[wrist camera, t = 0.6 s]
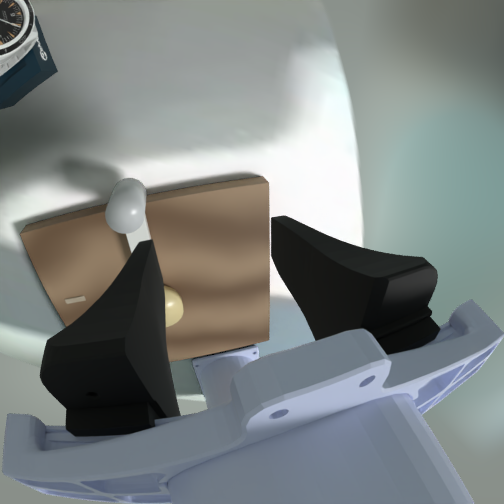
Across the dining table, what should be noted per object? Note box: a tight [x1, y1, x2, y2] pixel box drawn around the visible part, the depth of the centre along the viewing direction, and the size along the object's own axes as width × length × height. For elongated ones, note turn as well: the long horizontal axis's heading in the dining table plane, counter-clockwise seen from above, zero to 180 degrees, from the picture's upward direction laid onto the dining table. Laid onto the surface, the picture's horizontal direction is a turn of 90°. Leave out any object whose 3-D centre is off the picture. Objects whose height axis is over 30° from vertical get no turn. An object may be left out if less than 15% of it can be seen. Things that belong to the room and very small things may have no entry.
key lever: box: [105, 178, 183, 327], centre depth 20 cm, size 13×4×3 cm, turn 2°
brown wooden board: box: [20, 176, 270, 362], centre depth 25 cm, size 18×20×2 cm
